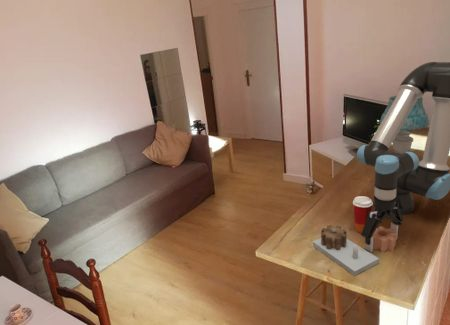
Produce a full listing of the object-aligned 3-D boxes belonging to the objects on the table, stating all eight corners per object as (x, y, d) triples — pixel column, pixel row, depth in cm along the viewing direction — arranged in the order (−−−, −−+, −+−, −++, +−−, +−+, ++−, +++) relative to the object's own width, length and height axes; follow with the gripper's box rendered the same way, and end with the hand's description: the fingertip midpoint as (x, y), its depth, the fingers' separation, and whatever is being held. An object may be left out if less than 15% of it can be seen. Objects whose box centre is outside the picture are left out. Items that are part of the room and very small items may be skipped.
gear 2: (380, 234, 141) (381, 223, 139) (401, 245, 133) (402, 234, 131) (363, 242, 137) (363, 232, 135) (383, 254, 129) (384, 243, 127)
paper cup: (366, 222, 150) (368, 194, 144) (374, 232, 142) (376, 203, 137) (349, 225, 150) (349, 196, 144) (356, 235, 142) (356, 205, 137)
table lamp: (432, 173, 185) (441, 100, 170) (387, 177, 187) (392, 105, 172) (411, 157, 207) (417, 91, 193) (371, 161, 209) (374, 96, 194)
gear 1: (334, 233, 142) (334, 220, 140) (351, 244, 134) (352, 230, 132) (316, 241, 138) (316, 228, 136) (333, 253, 130) (333, 239, 128)
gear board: (335, 235, 144) (335, 221, 141) (378, 263, 125) (379, 247, 123) (312, 245, 139) (312, 231, 137) (354, 275, 121) (355, 259, 118)
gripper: (398, 183, 135) (395, 229, 143) (352, 202, 125) (350, 250, 133) (416, 190, 129) (411, 237, 137) (368, 210, 119) (366, 260, 127)
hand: (381, 244), depth 135 cm, fingers open, 13 cm apart
